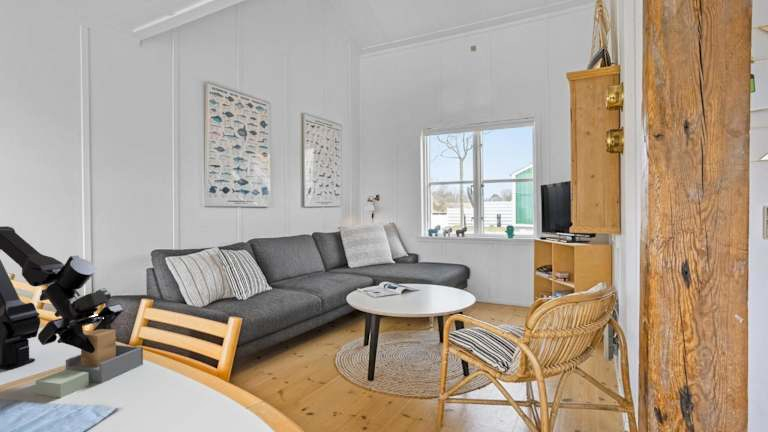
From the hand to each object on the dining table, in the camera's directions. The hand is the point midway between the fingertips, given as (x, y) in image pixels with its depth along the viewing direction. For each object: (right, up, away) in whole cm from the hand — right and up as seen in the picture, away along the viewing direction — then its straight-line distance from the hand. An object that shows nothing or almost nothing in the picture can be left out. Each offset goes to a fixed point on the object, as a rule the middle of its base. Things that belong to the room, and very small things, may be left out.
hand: (103, 348), depth 101 cm
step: (-3, -7, -8) cm, 11 cm away
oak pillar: (-1, -4, 0) cm, 4 cm away
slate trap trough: (-1, -7, +2) cm, 7 cm away
